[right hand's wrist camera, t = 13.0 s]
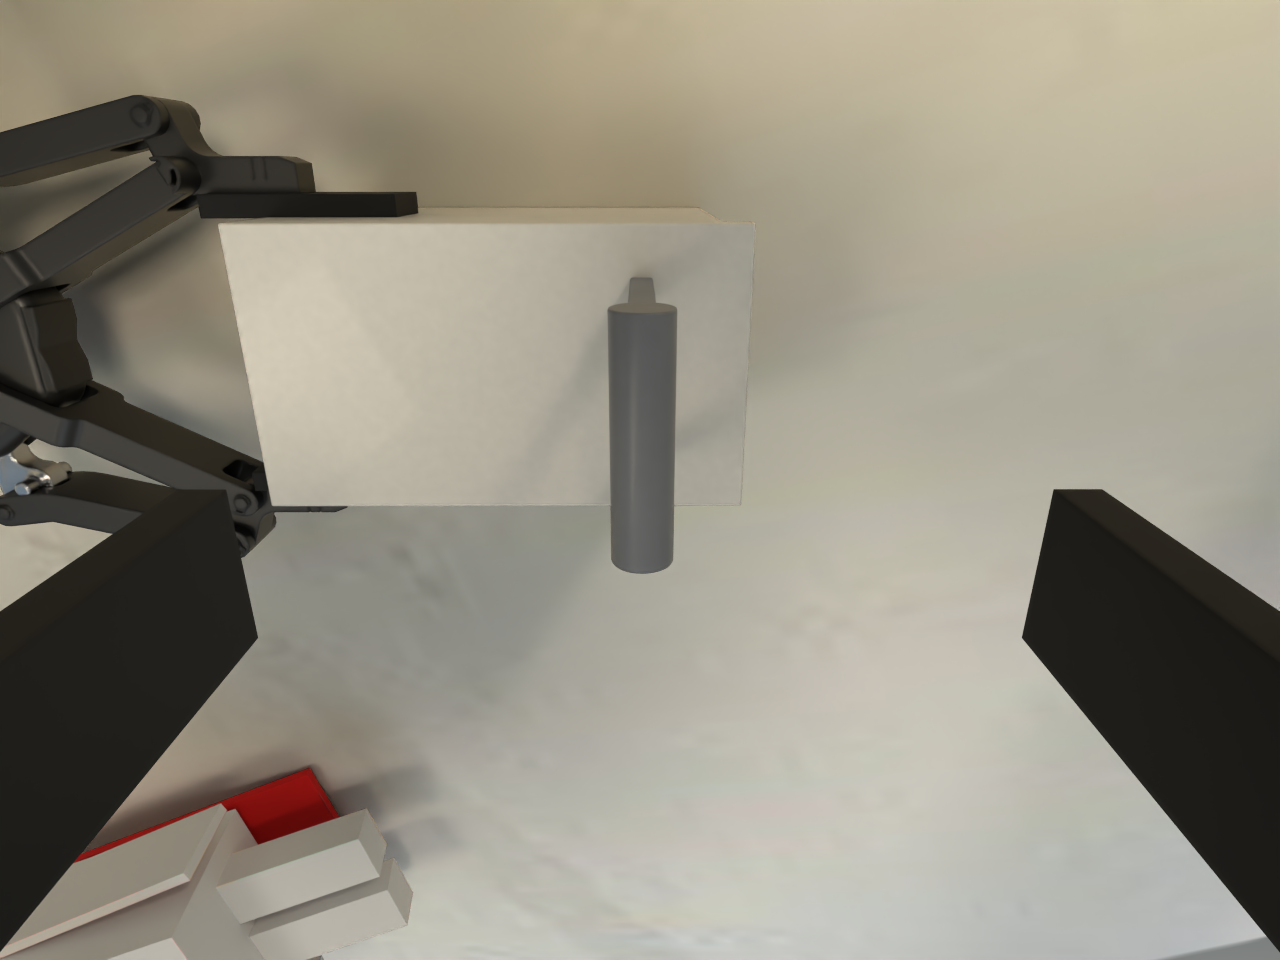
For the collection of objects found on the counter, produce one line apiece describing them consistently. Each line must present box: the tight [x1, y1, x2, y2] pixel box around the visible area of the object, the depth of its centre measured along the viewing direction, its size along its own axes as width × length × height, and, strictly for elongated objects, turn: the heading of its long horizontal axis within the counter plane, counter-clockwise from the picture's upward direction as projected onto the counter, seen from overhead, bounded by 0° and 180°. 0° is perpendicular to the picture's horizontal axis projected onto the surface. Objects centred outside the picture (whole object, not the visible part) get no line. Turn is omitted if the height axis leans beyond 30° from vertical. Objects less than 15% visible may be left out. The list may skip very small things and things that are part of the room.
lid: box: [218, 222, 756, 574], centre depth 21 cm, size 16×9×8 cm, turn 90°
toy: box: [0, 768, 413, 960], centre depth 42 cm, size 12×13×30 cm
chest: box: [234, 208, 722, 222], centre depth 30 cm, size 15×9×10 cm, turn 90°
